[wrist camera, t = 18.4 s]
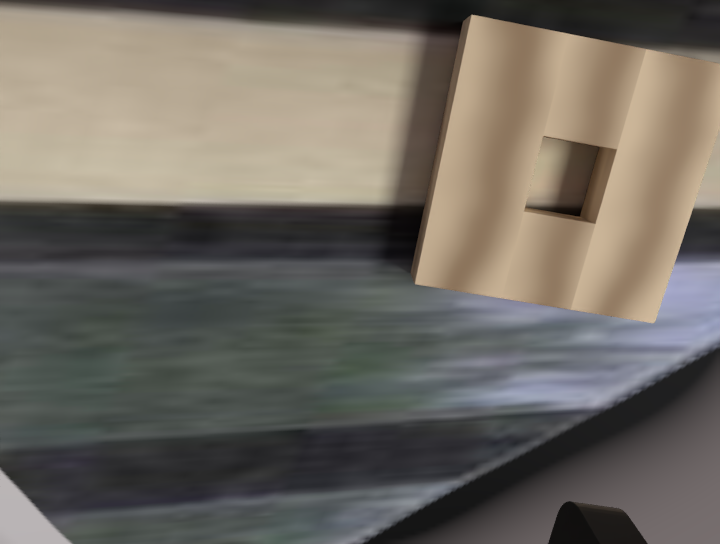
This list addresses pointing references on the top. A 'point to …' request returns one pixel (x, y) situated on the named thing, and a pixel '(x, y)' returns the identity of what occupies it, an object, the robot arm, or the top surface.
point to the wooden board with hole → (608, 180)
